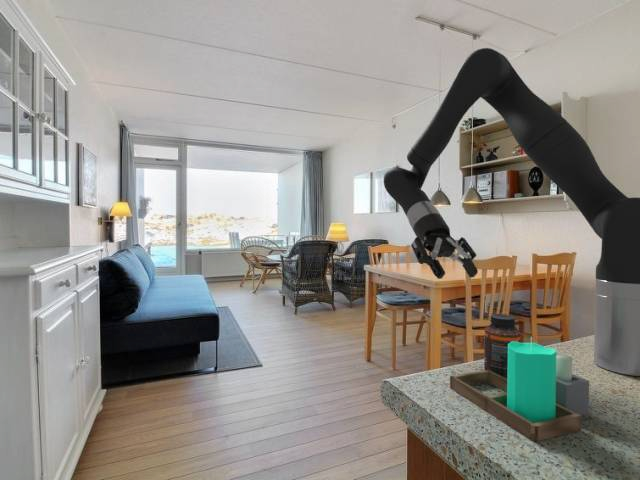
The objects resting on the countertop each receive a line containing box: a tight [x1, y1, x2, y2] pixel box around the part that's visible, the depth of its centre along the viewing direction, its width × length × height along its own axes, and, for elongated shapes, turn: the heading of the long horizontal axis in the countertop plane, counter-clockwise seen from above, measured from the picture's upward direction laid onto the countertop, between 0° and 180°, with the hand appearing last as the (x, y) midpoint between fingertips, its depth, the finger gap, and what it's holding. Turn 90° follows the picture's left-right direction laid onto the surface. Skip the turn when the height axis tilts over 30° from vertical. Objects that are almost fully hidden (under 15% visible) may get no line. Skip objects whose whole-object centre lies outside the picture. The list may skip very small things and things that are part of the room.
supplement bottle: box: [483, 313, 522, 379], centre depth 64 cm, size 6×6×11 cm
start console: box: [556, 373, 590, 417], centre depth 53 cm, size 5×5×5 cm
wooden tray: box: [449, 369, 582, 443], centre depth 54 cm, size 8×16×2 cm, turn 18°
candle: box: [506, 336, 558, 423], centre depth 50 cm, size 6×6×12 cm
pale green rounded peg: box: [556, 353, 573, 382], centre depth 52 cm, size 2×2×6 cm
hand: (458, 275), depth 75 cm, fingers open, 8 cm apart
